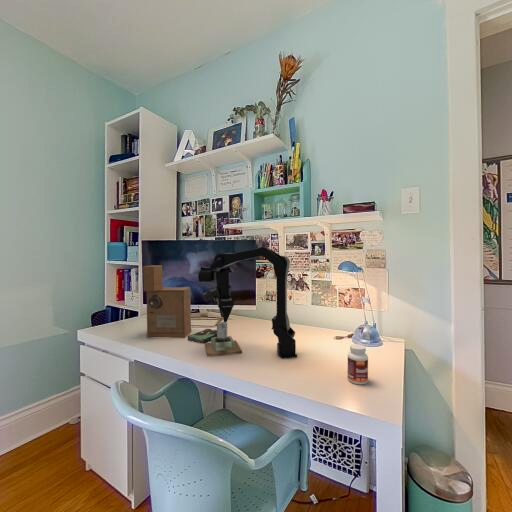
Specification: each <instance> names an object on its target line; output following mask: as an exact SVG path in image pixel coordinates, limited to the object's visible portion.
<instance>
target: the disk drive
mask: <svg viewBox="0 0 512 512" xmlns="http://www.w3.org/2000/svg"><path fill="white" fill-rule="evenodd" d="M213 337H217V329H213V330H212V328H205V329H203V330H201V331H197V332H194V333H193V334H189V335H188V336H187V341H189V342H192V341H193V342H192V343H197V344H202V345H205V343H211V338H213Z"/></svg>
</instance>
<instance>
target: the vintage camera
mask: <svg viewBox="0 0 512 512" xmlns="http://www.w3.org/2000/svg"><path fill="white" fill-rule="evenodd" d="M142 273H143V274H142V276H143V277H142V278H143V279H142V282H143V287H142V288H143V292H146V332H147V333H146V338H151V337H171V338H172V339H177V338H178V339H186V338H188V336H189V335H191V333H192V319H191V318H192V317H191V316H192V313H191V312H192V307H191V306H192V305H191V304H192V303H191V287H190V286H187V287H184V286H183V287H182V286H181V287H179V286H178V287H177V286H176V287H175V286H174V287H173V286H172V287H171V286H169V287H168V286H167V287H166V286H165V287H163V265H161V264H160V265H159V264H158V265H153V264H152V265H144V266H142ZM185 337H186V338H185ZM171 338H170V339H171Z"/></svg>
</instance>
